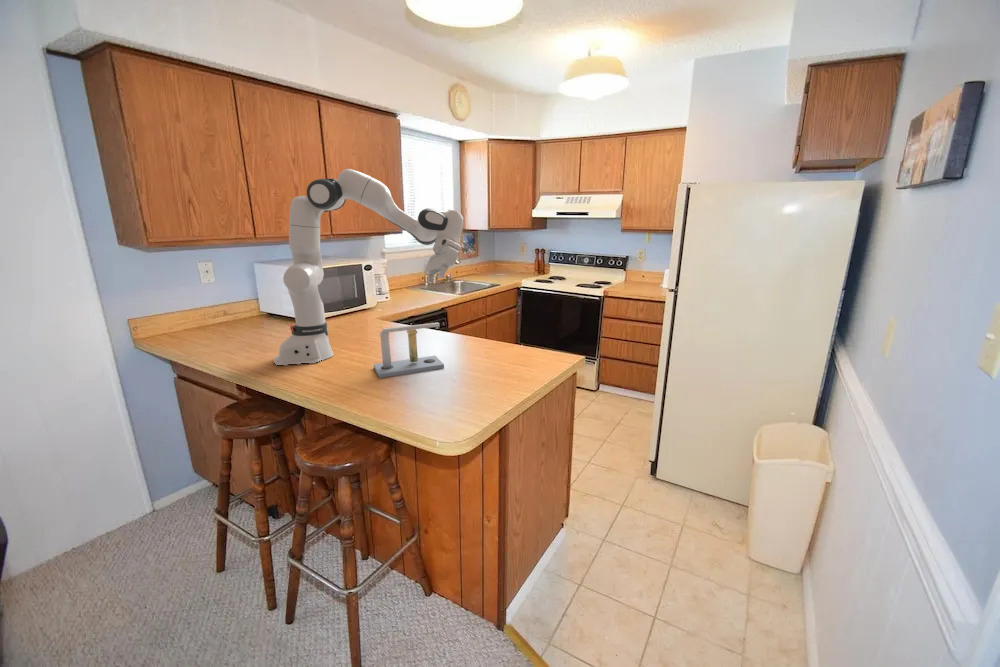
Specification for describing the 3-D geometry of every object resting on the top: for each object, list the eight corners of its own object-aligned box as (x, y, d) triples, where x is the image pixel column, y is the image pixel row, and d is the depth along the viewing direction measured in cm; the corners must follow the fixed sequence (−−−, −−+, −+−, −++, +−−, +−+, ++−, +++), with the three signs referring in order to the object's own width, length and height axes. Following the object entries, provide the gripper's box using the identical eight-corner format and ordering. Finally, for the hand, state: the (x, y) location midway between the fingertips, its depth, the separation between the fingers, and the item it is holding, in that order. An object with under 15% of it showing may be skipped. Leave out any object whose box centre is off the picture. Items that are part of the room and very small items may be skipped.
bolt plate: (379, 378, 152) (375, 334, 148) (374, 367, 163) (370, 326, 158) (445, 367, 162) (443, 326, 157) (436, 358, 172) (434, 319, 168)
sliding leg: (410, 364, 160) (408, 331, 157) (408, 361, 163) (406, 329, 160) (419, 362, 162) (417, 330, 158) (417, 360, 164) (415, 328, 161)
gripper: (426, 251, 176) (417, 281, 172) (449, 238, 159) (439, 271, 156) (440, 258, 179) (430, 288, 176) (463, 245, 162) (454, 278, 159)
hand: (434, 280), depth 165 cm, fingers open, 8 cm apart
